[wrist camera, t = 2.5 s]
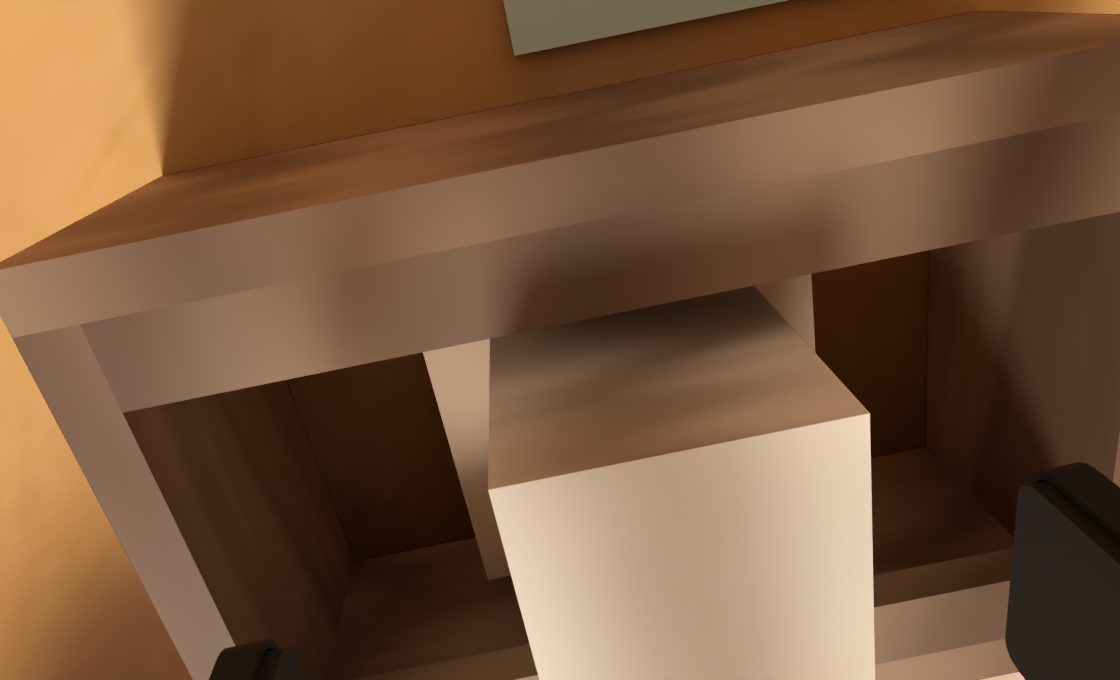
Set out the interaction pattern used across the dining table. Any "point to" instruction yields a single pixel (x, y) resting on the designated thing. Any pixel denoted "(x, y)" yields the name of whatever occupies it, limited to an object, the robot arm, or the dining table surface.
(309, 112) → the dining table surface
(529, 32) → the panel
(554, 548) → the block
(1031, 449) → the crate
